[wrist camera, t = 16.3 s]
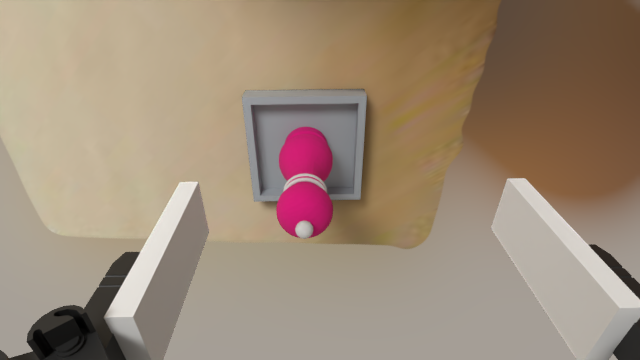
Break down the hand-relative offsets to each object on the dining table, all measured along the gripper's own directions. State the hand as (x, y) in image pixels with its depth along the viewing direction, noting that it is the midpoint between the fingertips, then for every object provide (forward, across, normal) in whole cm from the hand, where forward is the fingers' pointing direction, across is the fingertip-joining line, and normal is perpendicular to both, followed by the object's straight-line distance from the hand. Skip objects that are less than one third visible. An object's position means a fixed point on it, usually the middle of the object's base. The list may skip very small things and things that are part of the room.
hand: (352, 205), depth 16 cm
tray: (+35, -3, -14) cm, 38 cm away
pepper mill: (+34, -3, -14) cm, 37 cm away
